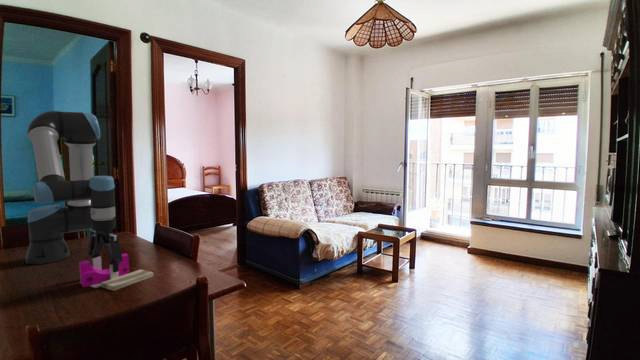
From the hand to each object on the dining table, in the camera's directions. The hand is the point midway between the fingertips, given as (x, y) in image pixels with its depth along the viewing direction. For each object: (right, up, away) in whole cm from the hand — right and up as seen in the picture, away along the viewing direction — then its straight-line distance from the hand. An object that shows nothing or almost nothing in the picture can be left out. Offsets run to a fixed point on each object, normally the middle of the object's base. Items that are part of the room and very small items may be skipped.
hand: (105, 277), depth 126 cm
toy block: (+1, -1, -1) cm, 1 cm away
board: (+10, -1, -2) cm, 10 cm away
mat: (0, -1, 0) cm, 1 cm away
